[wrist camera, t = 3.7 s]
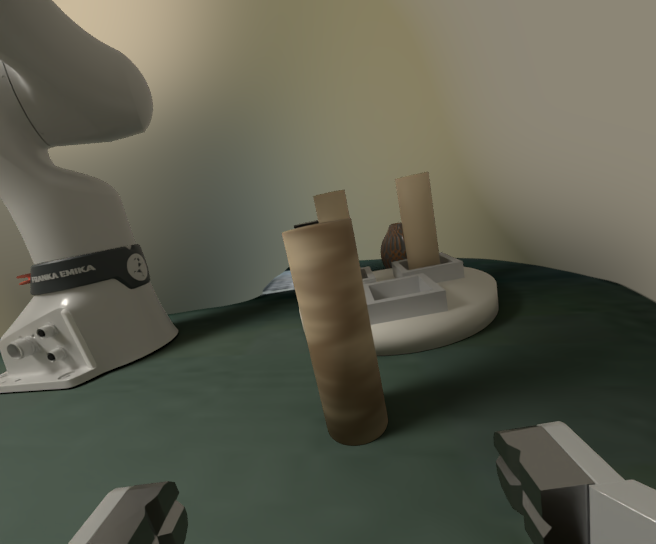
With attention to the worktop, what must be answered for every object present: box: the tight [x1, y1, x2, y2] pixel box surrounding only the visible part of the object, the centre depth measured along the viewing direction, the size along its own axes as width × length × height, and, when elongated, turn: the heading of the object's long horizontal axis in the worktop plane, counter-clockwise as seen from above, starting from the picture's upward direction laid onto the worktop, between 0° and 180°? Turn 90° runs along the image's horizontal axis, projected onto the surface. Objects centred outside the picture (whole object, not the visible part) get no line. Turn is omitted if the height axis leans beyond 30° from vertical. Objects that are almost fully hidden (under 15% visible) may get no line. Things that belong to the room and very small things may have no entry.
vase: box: [381, 223, 407, 269], centre depth 54 cm, size 7×7×9 cm
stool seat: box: [299, 172, 499, 356], centre depth 37 cm, size 23×23×16 cm
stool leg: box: [282, 218, 388, 446], centre depth 19 cm, size 4×4×13 cm
